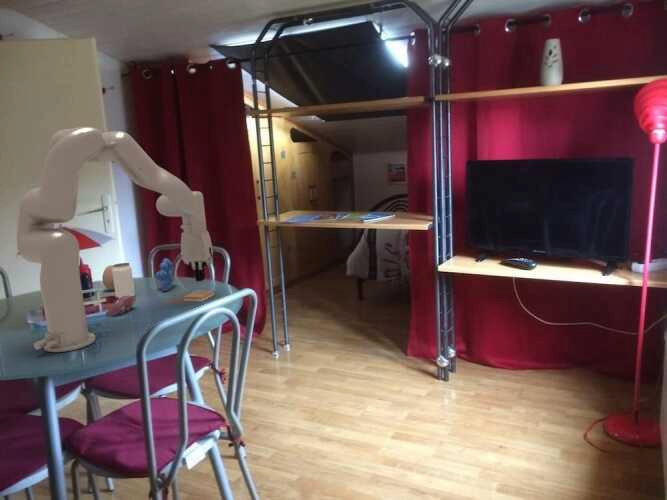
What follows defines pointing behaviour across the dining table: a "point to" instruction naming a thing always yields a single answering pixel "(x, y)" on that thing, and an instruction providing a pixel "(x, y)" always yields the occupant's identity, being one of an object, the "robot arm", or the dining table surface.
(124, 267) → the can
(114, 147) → the robot arm
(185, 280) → the dining table surface
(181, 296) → the mat
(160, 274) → the grapes
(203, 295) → the tile
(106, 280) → the egg
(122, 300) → the red lumpy clump
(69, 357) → the dining table surface
